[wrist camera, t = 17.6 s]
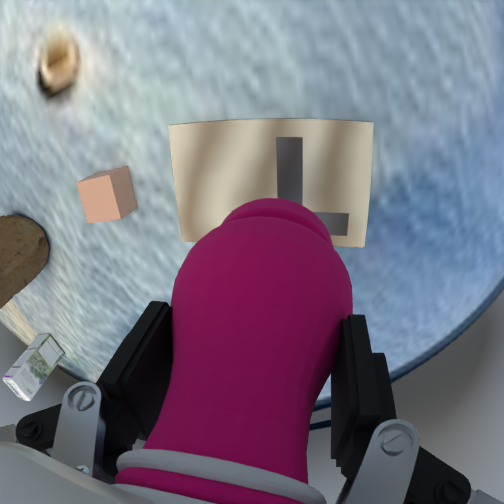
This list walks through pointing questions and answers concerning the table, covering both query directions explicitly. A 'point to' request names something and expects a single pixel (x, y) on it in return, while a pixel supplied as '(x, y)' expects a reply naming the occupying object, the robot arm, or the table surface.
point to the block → (20, 254)
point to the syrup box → (33, 366)
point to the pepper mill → (246, 362)
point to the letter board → (273, 171)
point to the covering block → (107, 195)
